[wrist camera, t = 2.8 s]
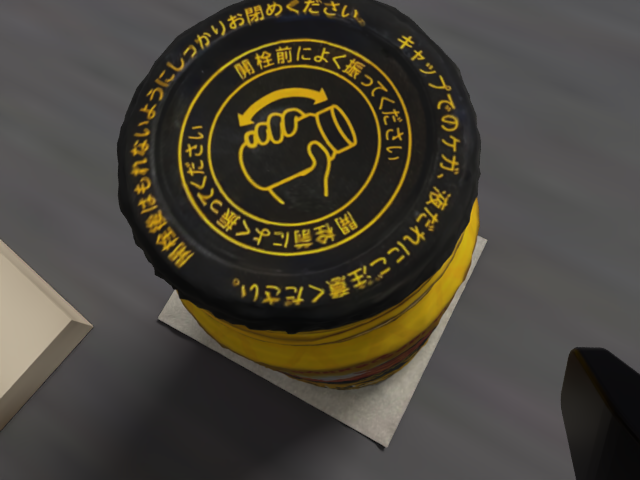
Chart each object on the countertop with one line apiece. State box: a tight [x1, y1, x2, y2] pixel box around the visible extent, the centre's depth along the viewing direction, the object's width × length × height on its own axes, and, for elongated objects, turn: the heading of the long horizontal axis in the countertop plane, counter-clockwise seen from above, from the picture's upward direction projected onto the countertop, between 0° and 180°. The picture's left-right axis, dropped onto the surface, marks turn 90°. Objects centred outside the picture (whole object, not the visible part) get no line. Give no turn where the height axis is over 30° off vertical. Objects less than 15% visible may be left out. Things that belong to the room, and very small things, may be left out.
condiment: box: [117, 0, 487, 447], centre depth 14 cm, size 7×8×12 cm
